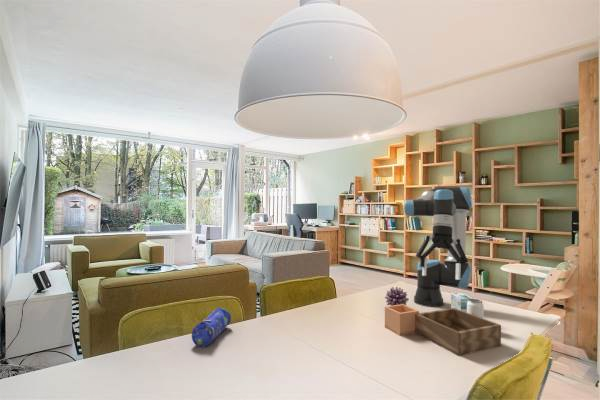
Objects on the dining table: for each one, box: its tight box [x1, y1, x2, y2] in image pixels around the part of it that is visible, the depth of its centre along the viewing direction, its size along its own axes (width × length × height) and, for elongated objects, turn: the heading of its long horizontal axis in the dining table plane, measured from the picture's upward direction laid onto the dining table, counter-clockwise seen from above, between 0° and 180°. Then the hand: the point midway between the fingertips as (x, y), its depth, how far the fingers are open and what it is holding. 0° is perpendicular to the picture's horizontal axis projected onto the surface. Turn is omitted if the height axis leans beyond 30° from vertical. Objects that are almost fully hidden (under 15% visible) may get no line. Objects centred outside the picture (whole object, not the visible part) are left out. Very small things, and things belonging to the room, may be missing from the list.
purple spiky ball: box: [384, 286, 410, 306], centre depth 166 cm, size 12×12×12 cm
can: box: [467, 298, 485, 319], centre depth 142 cm, size 6×6×12 cm
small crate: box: [384, 304, 420, 337], centre depth 140 cm, size 10×10×9 cm
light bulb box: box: [450, 292, 474, 313], centre depth 154 cm, size 11×7×11 cm, turn 179°
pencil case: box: [191, 306, 232, 348], centre depth 131 cm, size 22×9×10 cm, turn 172°
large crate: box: [414, 308, 502, 357], centre depth 130 cm, size 22×22×8 cm
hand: (440, 277), depth 131 cm, fingers open, 13 cm apart
